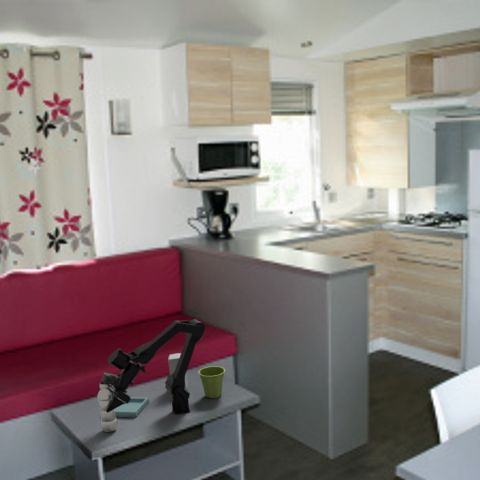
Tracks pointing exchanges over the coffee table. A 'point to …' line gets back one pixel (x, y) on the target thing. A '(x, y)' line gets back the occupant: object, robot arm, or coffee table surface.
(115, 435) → the coffee table surface
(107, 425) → the plastic bottle
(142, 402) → the tray
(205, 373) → the plant pot
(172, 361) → the skincare box
